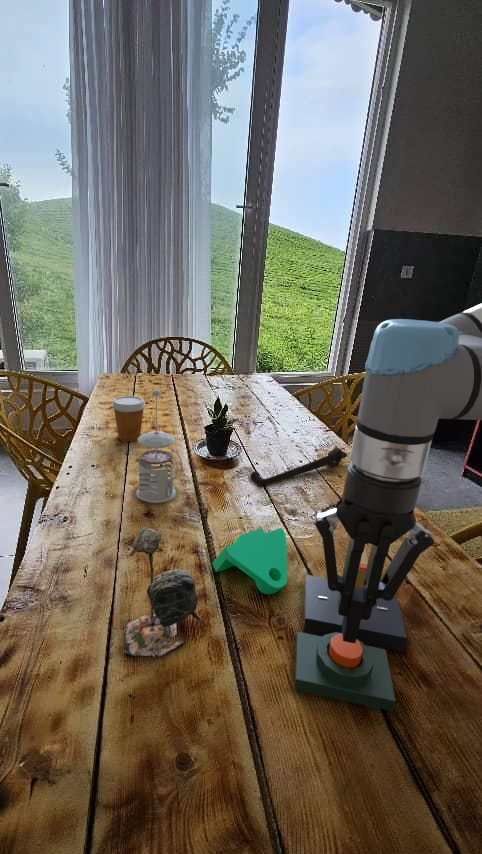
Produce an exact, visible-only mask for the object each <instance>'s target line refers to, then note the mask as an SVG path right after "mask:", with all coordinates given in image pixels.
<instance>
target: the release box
mask: <svg viewBox="0 0 482 854" xmlns="http://www.w3.org/2000/svg"><path fill="white" fill-rule="evenodd" d="M337 634H342V633H338V632H335V633H331V634H327V635H324V636H321V635H316V634H311V633H306V632H301V631H297V632H296V639H295V653H294V654H295V656H294V677H293V678H294V679H293V680H294V682H293V690H295V691H299V692H304V693H307V694H313V695H317V696H322V697H327V698H331V699H336V700H339V701H344V702H348V703H353V704H357V705H362V706H365V707H371V708H374V709H379V710H383V711H389V712H394V708H395V705H396V702H397V701H396V696H395V690H394V684H393V679H392V675H391V669H390V665H389V664H390V663H389V659H388V655H387V649H386V648H381V647H376V646H371V645H366V644H364V643H363V642H361V641H359V640H358V639H356V640H358V641H359V643H360V644H361V646H362V649H363V652H362V657H361V661H360V664H359V665H358V666H357V667H355V668H344V667H341V666H339V665H338V664H336V663H335V662H334V661H333V660H332V659H331V657H330V655H329V647H330V642H331V639H332V637H333V636H335V635H337Z"/></svg>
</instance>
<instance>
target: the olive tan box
mask: <svg viewBox="0 0 482 854" xmlns="http://www.w3.org/2000/svg"><path fill="white" fill-rule="evenodd" d="M368 559H369V557H368V552H367V549H366V547H365V548H364V552H363V553H362V557H361V561H360V566H359V571H358V575H357V580H356V584H355V586H357V587H362V588H363V582H364V578H365V573H366V568H367V564H368Z"/></svg>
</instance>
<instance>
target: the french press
mask: <svg viewBox="0 0 482 854" xmlns="http://www.w3.org/2000/svg"><path fill="white" fill-rule="evenodd" d="M151 396H153V397H155V430H152V431H147V432H145V433H143V434H140V437H139V438H138V440H137V442H138V443H139V445H141V446H142V447H144V448H148V449H149V450H146V451H144V452H142V453H141V454H140V456H139V458H140V460H139V462H138V489H137V490H136V493H135V495H136V496H137V498H138V499H140V500H142V501H143V502H146V503H154V504H155V503H156V504H158V503H166V502H168V501H170V500H173V498H174V497H175V496H176V494H177V493H176V492H177V491H176V490H175V488H174V481H175V480H176V479H178V478H180V477H181V475H182V473H183V460H182V457H181V455H180V453H179V452H178V451H177V450H176V449H174V448H171V451H170V450H169V451H168V450H162V449H165V448H168V447H170V446H172V445H173V444H174V442H175V437H174V436H173V435H172V434H169V433H167V432H165V431H162V430H158V413H157V412H158V397H162V392H161V391H160V389H154V390H153V391H152V392H151ZM174 452H175V453H176V455H177V457H178V459H179V461H180V472H179V474H178V463H177V461H176V458H175V456H174V454H173V453H174ZM174 462H175V470H176V471H175V475H174ZM154 465H155V466H154ZM177 475H178V476H177Z"/></svg>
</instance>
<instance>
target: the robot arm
mask: <svg viewBox="0 0 482 854" xmlns="http://www.w3.org/2000/svg"><path fill="white" fill-rule="evenodd" d="M364 365H365V366H364V369H365V371H364V372H365V373H364V377H363V378H364V379H363V383H362V389H361V390H362V391H361V396H360V403H359V408H358V414H357V419H356V423H355V427H354V433H353V438H352V444H351V448H350V452H349V453H350V454H349V460H350V462H349V463H348V465H347V470H346V476H345V480H344V486H343V490H342V495H341V497H340V499H339V500H338V501H337V502H336V504H335V507H334V508H332V509H330V510H329V509H328V510H327V511H325V510H323V509H318V510H316V511H315V515H314V517H315V522H314V523H315V528H316V529H317V531H318V533H319V535H320V536H321V538H322V546H323V555H324V561H325V562H324V563H325V571H326V578H327V581H328V588H329V589H330V590H331V591H336V590H337V591H338V592H340V594H339V599H338V613H339V615H342V616H343V621H342V635H343V641H345V642H350V643H356V638H357V634H358V630H359V626H360V621H361V619H364V620H368V619H369V618H370V616H371V612H372V608H373V606H375V605H376V604H377V602H376V599H379V598H383V599H384V600H386V601H390V600H392V599H393V597H394V595H395V594H396V595H397V592H398V591H399V589H400V588H401V586H402V584H403V582H404V581H405V579H406V578H407V576H408V575H409V573H410V571H411V570H412V568H413V567H414V565H415V563H416V561H417V560H418V559H419V557H420V555H421V554H422V553H423V552H425V551H426V550H427V549H428V548H430V547H432V545H434V543H435V541H434V538H433V536H432V533H431V531H430V529H429V527H428V526H427V525H425V524H419V523H418V521H417V518H416V515H415V508H416V505H417V503H418V502H417V501H418V497H419V494H420V489H421V485H422V481H423V480H422V478H421V476H422V475H424V474H425V473H424V472H425V470H426V465H427V461H428V457H429V453H430V449H431V445H432V442H433V439H434V435H435V432H436V429H437V426H438V422H439V419H440V420H441V419H443V420H468V421H470V420H471V421H482V302H481V303H479V304H477V305H475V306H473V307H470V308H468V309H465V310H464V311H461V312H459V313H457V314H454V315H451V316H449V317H447V318H445V319H443V320H441V321H432V320H431V321H430V320H419V319H411V318H410V319H409V318H394V319H393V318H392V319H387V320H384V321H383V322H381V323H380V324H378V325H377V327H376V328H375V330H374V333H373V337H372V340H371V343H370V347H369V352H368V355H367V359H366V361H365V364H364ZM338 521H339V522H340V524H341V525H342V527H343V528H344V530H345V531H346V534H347V535H348V537H349V540H348V546H347V551H346V555H345V561H344V566H343V570H342V575H339V574H338V566H337V559H336V549H335V547H336V546H335V537H334V531H335V530H336V529H337V522H338ZM404 535H406V537H405V538H404V540H402V543H401V544H400V546H399V548H398V549H397V551H396V553H395V554H394V556H393V557H392V560H391V561H390V562H389V564H388V566H387V567H386V569H385V571H384V567H385V562H386V560H387V559H386V558H387V557H388V555H389V552H390V547H391V545H392V544H393V543H395V542H396V541H397V540H399V539H400V538H402V537H404ZM368 544H369V545H371V547H370V550H369V555H368V564H367V568H366V573H365V578H364V582H363V588H362V587H357V586H355V584H356V580H357V575H358V571H359V566H360V561H361V557H362V553H363V552H364V548H366V545H368ZM383 572H384V573H383Z"/></svg>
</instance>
